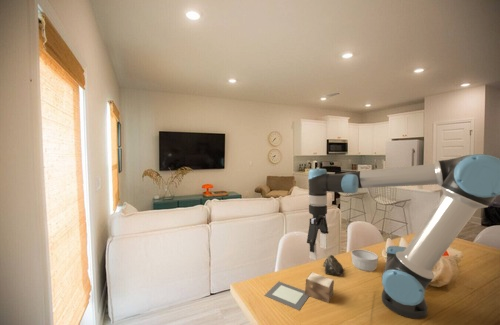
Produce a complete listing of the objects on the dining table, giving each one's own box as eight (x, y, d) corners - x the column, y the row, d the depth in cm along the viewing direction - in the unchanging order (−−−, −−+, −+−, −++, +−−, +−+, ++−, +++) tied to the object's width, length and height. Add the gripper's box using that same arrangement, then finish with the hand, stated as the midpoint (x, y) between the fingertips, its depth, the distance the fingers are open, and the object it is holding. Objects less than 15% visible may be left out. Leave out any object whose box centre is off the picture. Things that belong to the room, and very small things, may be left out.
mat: (311, 294, 96) (311, 292, 96) (299, 311, 86) (299, 309, 86) (278, 282, 106) (278, 281, 106) (264, 296, 95) (264, 295, 95)
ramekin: (380, 265, 121) (380, 253, 121) (375, 275, 111) (375, 262, 111) (355, 258, 130) (355, 247, 129) (347, 267, 120) (347, 254, 120)
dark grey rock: (347, 278, 108) (337, 259, 108) (330, 284, 110) (320, 266, 110) (342, 266, 119) (333, 249, 119) (326, 272, 120) (318, 256, 121)
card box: (332, 295, 96) (334, 279, 95) (328, 304, 90) (329, 287, 89) (310, 286, 101) (311, 271, 101) (304, 294, 95) (306, 278, 95)
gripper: (318, 199, 107) (319, 242, 108) (297, 209, 87) (298, 262, 87) (334, 200, 103) (335, 245, 103) (316, 211, 83) (317, 267, 83)
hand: (318, 253), depth 95 cm, fingers open, 13 cm apart
